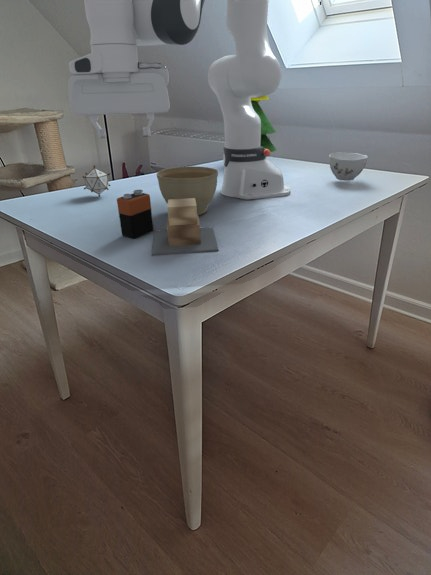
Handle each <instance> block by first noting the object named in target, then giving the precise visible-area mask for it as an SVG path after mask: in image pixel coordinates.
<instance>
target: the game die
mask: <svg viewBox="0 0 431 575" xmlns="http://www.w3.org/2000/svg"><path fill="white" fill-rule="evenodd" d="M110 175H111V173H110V172H109V173H106V172H104V171H102V170H100V169H98V168H96V165H94V164H93V168H92V169H91V170H90V171H89V172H88V173H87V172H85V176H82V178H83V179H84V183H85V184H84V185H85V186H84V187H83V190H86V189H87V190H88V191H90V193H94V194H97V195H98V197H99V198H100V197H101V194H102V193H103V192H105V191H108V190H109V187H111V184H110V183H109V176H110Z"/></svg>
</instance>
